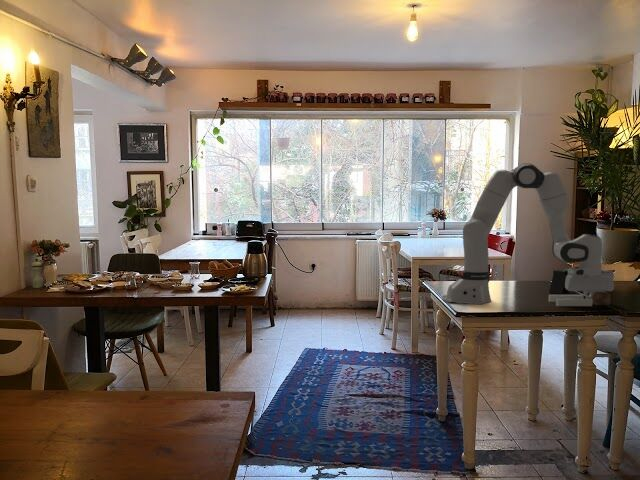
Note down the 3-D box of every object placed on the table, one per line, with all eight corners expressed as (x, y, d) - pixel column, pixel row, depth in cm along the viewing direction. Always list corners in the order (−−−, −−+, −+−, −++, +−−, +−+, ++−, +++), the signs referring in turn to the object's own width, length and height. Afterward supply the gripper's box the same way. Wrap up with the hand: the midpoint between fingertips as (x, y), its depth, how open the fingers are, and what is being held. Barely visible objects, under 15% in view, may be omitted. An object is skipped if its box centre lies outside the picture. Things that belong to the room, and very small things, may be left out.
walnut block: (596, 304, 225) (596, 293, 225) (589, 301, 231) (590, 291, 231) (610, 304, 225) (610, 293, 225) (603, 301, 231) (603, 291, 231)
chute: (557, 308, 224) (557, 299, 224) (548, 303, 234) (548, 294, 234) (592, 308, 224) (592, 299, 223) (581, 303, 234) (582, 294, 233)
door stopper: (559, 295, 252) (560, 271, 250) (548, 293, 257) (549, 269, 256) (570, 293, 256) (571, 269, 255) (559, 291, 261) (560, 268, 260)
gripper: (610, 269, 230) (608, 299, 231) (564, 269, 231) (562, 298, 232) (617, 271, 223) (616, 302, 225) (570, 271, 224) (568, 302, 226)
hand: (588, 300), depth 228 cm, fingers closed
